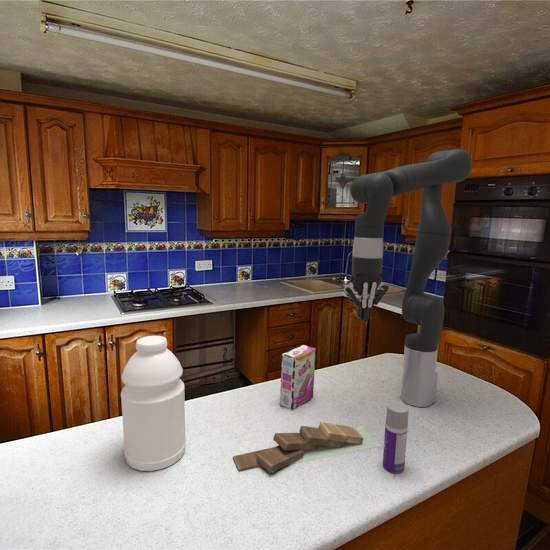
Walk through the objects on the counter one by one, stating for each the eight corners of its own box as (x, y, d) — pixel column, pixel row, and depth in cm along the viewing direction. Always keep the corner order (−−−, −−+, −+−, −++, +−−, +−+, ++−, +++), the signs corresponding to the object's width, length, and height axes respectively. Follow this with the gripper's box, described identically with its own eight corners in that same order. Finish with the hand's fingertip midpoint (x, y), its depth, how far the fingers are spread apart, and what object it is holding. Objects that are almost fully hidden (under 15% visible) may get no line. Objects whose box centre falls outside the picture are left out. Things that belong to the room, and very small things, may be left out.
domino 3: (289, 440, 91) (256, 454, 84) (303, 451, 87) (271, 466, 80) (288, 446, 91) (256, 461, 84) (303, 457, 87) (270, 473, 81)
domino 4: (335, 430, 96) (301, 425, 92) (345, 441, 91) (308, 437, 88) (334, 436, 96) (299, 431, 92) (342, 447, 91) (306, 443, 88)
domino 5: (353, 427, 97) (320, 421, 94) (363, 438, 92) (328, 433, 89) (351, 432, 97) (318, 427, 94) (361, 444, 92) (326, 439, 89)
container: (378, 464, 86) (382, 403, 83) (394, 459, 87) (399, 400, 85) (391, 477, 81) (396, 414, 79) (408, 473, 83) (413, 410, 81)
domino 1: (273, 447, 90) (232, 456, 86) (280, 459, 85) (238, 469, 82) (273, 453, 90) (232, 462, 87) (280, 466, 86) (238, 476, 82)
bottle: (197, 442, 93) (195, 334, 88) (162, 479, 80) (158, 355, 75) (150, 430, 97) (146, 327, 93) (110, 463, 85) (103, 345, 80)
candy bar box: (293, 412, 107) (294, 358, 105) (279, 406, 111) (280, 353, 108) (314, 398, 116) (316, 347, 113) (301, 392, 119) (302, 343, 116)
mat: (362, 427, 100) (362, 425, 100) (381, 447, 92) (381, 445, 92) (277, 442, 93) (278, 441, 93) (290, 465, 85) (290, 464, 85)
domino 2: (306, 432, 94) (274, 433, 89) (319, 442, 90) (286, 443, 85) (304, 438, 94) (273, 439, 89) (317, 448, 90) (285, 450, 85)
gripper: (351, 257, 90) (348, 327, 92) (398, 256, 94) (393, 323, 96) (337, 254, 97) (334, 318, 100) (381, 253, 101) (377, 315, 104)
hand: (363, 320), depth 98 cm, fingers closed
